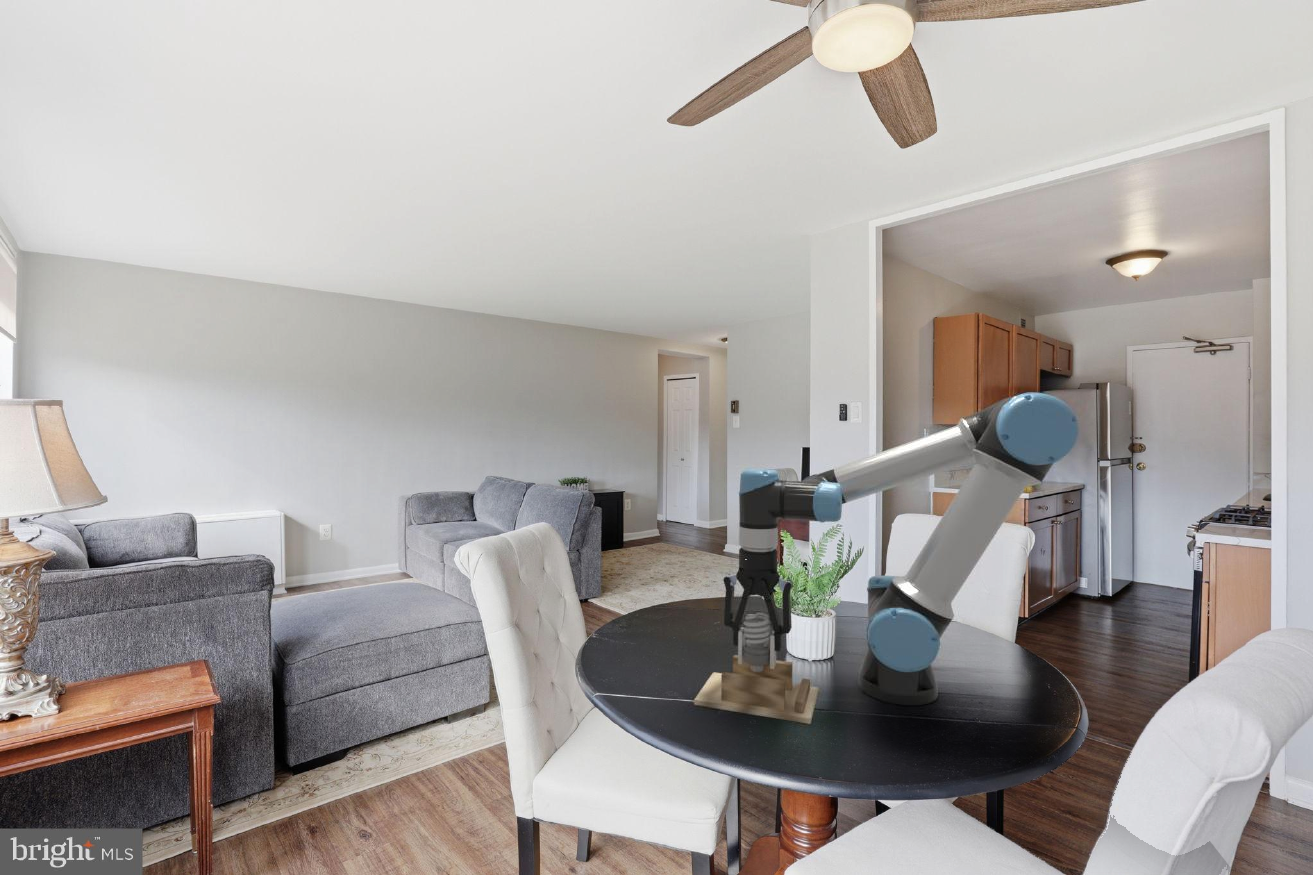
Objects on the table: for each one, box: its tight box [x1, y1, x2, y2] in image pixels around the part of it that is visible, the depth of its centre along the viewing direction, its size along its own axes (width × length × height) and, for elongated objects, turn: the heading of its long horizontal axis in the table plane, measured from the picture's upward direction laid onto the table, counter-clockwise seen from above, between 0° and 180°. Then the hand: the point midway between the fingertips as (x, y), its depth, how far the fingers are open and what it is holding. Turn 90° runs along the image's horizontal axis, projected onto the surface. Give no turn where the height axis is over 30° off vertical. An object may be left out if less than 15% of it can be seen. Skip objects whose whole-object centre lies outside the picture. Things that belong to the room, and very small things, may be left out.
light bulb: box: [742, 612, 773, 673], centre depth 122 cm, size 6×6×12 cm
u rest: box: [693, 654, 819, 725], centre depth 122 cm, size 22×14×6 cm, turn 70°
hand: (757, 663), depth 122 cm, fingers closed on light bulb, 6 cm apart
